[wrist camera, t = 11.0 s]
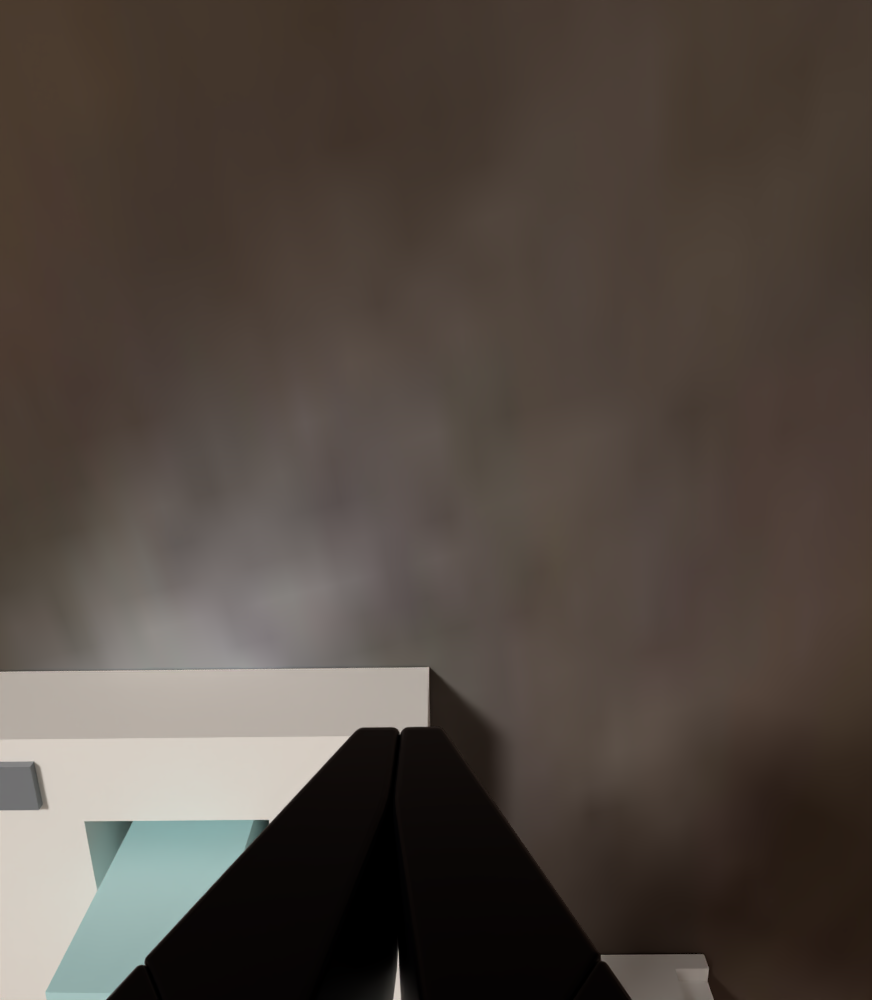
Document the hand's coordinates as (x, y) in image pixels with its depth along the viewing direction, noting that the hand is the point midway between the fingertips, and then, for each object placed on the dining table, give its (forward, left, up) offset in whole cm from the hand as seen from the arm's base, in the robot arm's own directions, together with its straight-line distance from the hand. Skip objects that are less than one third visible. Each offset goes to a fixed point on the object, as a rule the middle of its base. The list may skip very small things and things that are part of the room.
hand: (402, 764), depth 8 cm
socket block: (+6, +11, -12) cm, 17 cm away
